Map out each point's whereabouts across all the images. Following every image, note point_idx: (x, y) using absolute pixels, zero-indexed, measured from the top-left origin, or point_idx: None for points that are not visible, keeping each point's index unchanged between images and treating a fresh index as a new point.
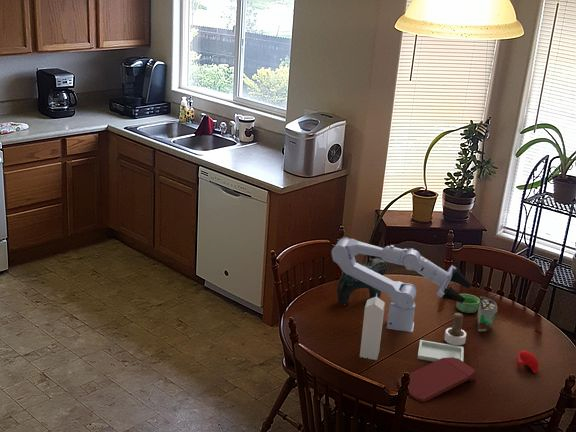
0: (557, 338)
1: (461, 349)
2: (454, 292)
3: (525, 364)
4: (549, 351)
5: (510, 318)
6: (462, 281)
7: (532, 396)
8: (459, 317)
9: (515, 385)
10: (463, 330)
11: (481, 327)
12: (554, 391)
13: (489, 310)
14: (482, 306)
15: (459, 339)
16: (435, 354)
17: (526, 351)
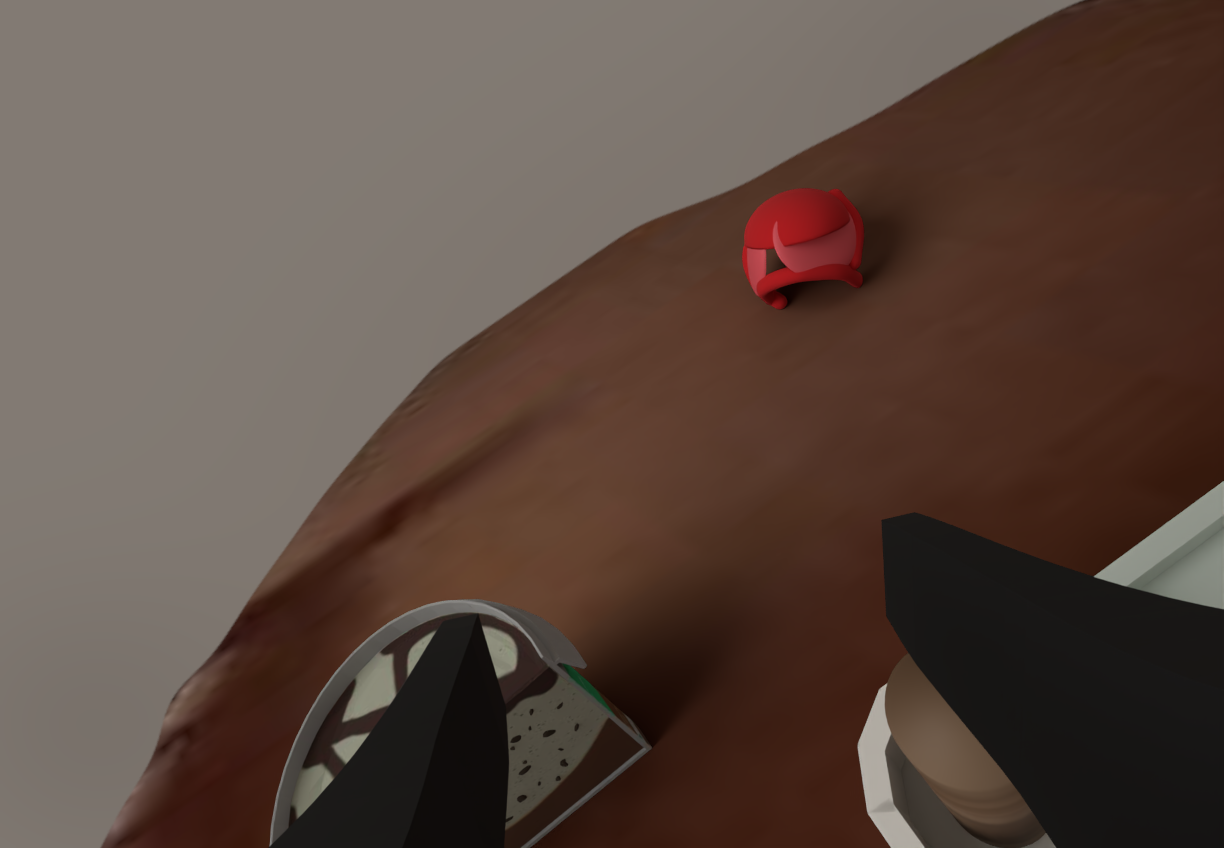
0: (404, 431)
1: (1148, 565)
2: (1149, 619)
3: (785, 297)
4: (548, 361)
5: None
6: (467, 808)
7: (1048, 85)
8: None
9: (1052, 167)
10: (859, 745)
11: (618, 710)
12: (883, 111)
13: (502, 612)
14: None
15: None
16: None
17: (779, 213)
